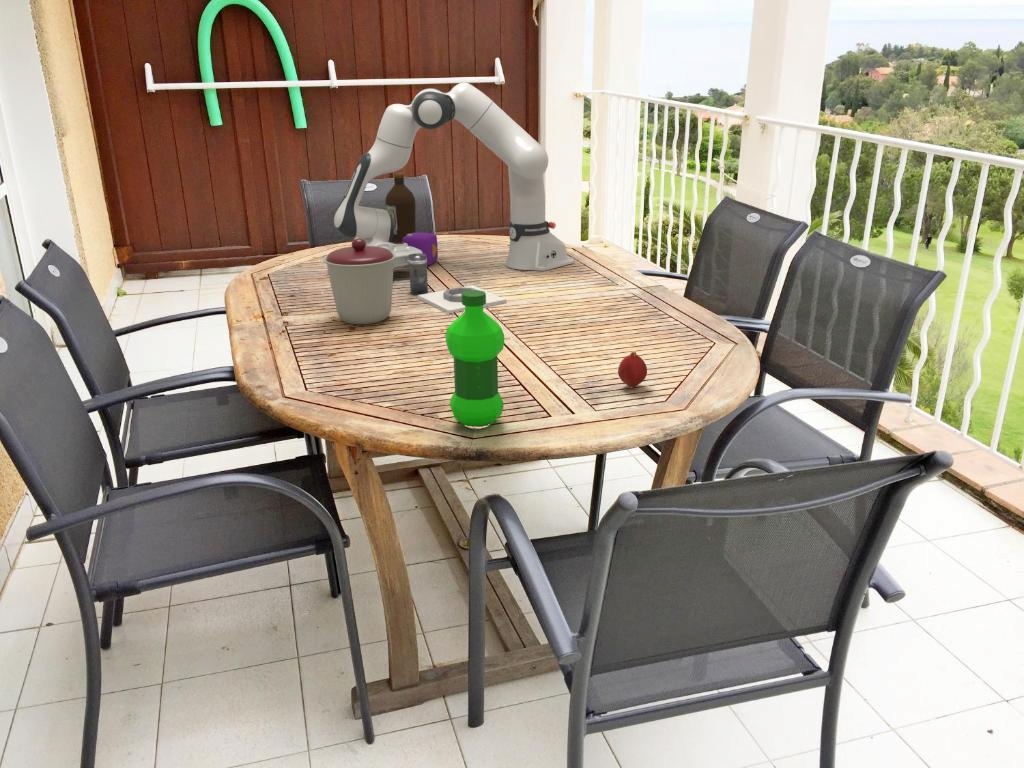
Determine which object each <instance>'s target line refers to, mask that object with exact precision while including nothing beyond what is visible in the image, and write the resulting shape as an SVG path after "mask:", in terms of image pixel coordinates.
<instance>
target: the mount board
mask: <svg viewBox="0 0 1024 768" xmlns="http://www.w3.org/2000/svg"><path fill="white" fill-rule="evenodd" d="M469 290H480V291H484V292H485V293H486V304H484V305H483V308H487V307H486V306H488V307H493V306H497V305H502V304H503V305H504V304H507V298H504V297H501V296H499V295H497V294H494V293H492V292H489V291H487V290H486V289H485V290H484V289H482V288H479V287H477V286H476V285H473V284H472V285H469V286H467V285H466V286H461V287H459V286H457V287H453V288H447V289H445V290H439V291H434V292H428V293H427V294H421V295H417V299H418V300H419V301H422V302H424V303H426V304H427V305H430V306H432V307H434V306H435V307H434V308H436V307H437V308H436V309H438V308H439V309H438V310H440V309H441V310H440V311H442V310H443V311H442V312H444V311H445V312H444V313H446V312H447V313H446V314H448V313H452V314H455V313H454V312H458V313H460V312H459V311H463V312H465V311H464V310H465V306H464V305H463V304H462V298H461V293H462V292H464V291H469ZM492 305H493V306H492Z"/></svg>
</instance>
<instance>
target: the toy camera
mask: <svg viewBox="0 0 1024 768" xmlns="http://www.w3.org/2000/svg"><path fill="white" fill-rule="evenodd" d="M402 243H407V244H408V246H411V247H414V248H417V249H419V250H421V251H422V253H423V254H426V258H427V267H428V265H429V266H430V265H432V264H433V263H435V262H436V261H437V260H438V258H439V257H438V256H439V255H438V253H439V252H438V250H439V249H438V236H437V235H436V233H430V232H416V233H411V234H407V236H405V237H404V238H403V239H402Z"/></svg>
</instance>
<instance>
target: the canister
mask: <svg viewBox="0 0 1024 768" xmlns="http://www.w3.org/2000/svg"><path fill="white" fill-rule="evenodd" d="M351 246H352V247H351ZM351 246H347V247H342V248H338V249H335V250H333V251H331V252H329V253H328V254H327V255H325V256H324V257H323V262H324V263H325V264H326V267H327V272H328V276H329V282H330V287H331V290H332V291H331V293H332V296H333V300H334V304H335V308H336V312H337V315H338V316H339V318H340V319H341V320H342V321H343V322H345V323H347V324H351V325H371V324H376V323H379V322H383V321H384V320H386V319H387V318H388V317H389V316H390V314H391V311H392V300H393V287H394V286H393V285H394V283H393V282H394V281H393V280H394V268H393V262H394V259H395V258H396V255H395V253H393V252H391V251H389V250H388V249H385V248H382V247H376V246H366V242H365V240H363V239H361V238H357V239H355V238H354V239H353V240H352V241H351Z"/></svg>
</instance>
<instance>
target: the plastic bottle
mask: <svg viewBox="0 0 1024 768" xmlns="http://www.w3.org/2000/svg"><path fill="white" fill-rule="evenodd" d="M461 298H462V304H463V305H464V306H465V311H463V313H461V314H460V315H459V316H458V317H457V318H456V319H455V320H454V321H453V322H451V324H449V325H448V327H447V328H446V332H445V342H446V349H447V350H448V352H449V354H450V355H451V356H452V357H453V374H454V375H453V377H454V391H453V393H452V396H451V397H450V401H449V404H450V409H451V412H452V414H453V417H454V419H455V420H456V421H457V422H458V423H460V424H461V423H462V424H464V425H467V426H484V425H488V424H491V425H492V424H493V423H494V422H495V421H497V419H499V417H501V415H502V413H503V411H504V401H503V399H502V395H501V394H500V392H499V372H498V371H499V370H498V369H499V367H498V364H499V363H498V355H499V354H500V353H501V352H502V351H503V349H504V346H505V334H504V332H503V329H502V326H501V325H500V323H498V322H497V321H496V320H495V319H494V318H492V317H491V316H490V315H489V314H488V313H487V312H485V311H484V307H483V305H484V304H486V293H485V292H484V291H480V290H469V291H464V292H462V293H461ZM462 424H461V425H462ZM464 425H463V426H464Z"/></svg>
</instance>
